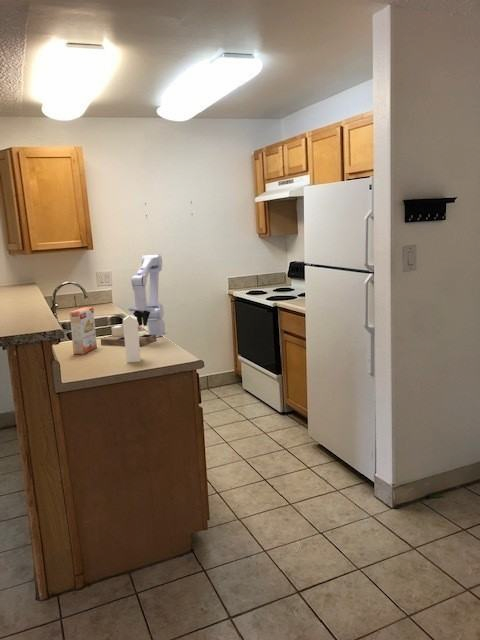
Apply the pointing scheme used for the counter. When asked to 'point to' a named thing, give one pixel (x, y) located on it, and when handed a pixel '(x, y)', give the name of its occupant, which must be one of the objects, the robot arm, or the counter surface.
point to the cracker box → (83, 330)
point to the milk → (131, 338)
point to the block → (117, 330)
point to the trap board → (120, 340)
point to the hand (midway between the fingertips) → (142, 325)
